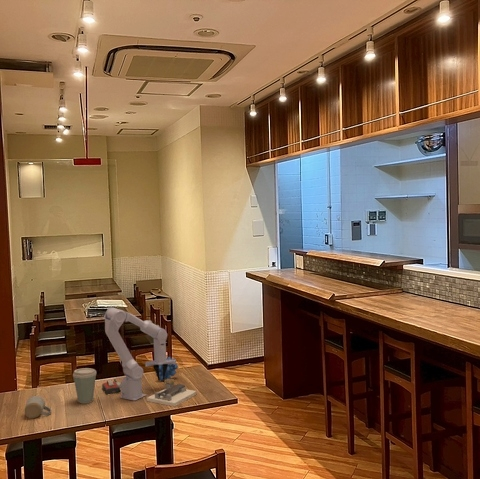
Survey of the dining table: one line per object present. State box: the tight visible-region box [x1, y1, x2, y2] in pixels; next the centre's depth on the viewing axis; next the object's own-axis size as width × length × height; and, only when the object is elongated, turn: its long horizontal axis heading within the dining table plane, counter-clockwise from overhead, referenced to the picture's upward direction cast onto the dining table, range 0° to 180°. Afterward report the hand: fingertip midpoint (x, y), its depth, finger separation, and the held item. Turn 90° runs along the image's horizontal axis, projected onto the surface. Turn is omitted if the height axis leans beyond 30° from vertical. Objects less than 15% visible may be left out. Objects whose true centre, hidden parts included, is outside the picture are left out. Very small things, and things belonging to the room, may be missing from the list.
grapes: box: [155, 356, 179, 381], centre depth 266 cm, size 12×7×12 cm, turn 114°
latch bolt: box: [163, 378, 176, 384], centre depth 248 cm, size 4×3×1 cm
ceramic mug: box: [24, 395, 52, 419], centre depth 224 cm, size 11×8×8 cm
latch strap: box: [159, 383, 186, 397], centre depth 240 cm, size 15×4×1 cm, turn 150°
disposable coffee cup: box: [72, 367, 97, 405], centre depth 239 cm, size 11×11×15 cm
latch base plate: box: [146, 382, 198, 407], centre depth 240 cm, size 16×17×4 cm
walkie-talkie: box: [101, 378, 121, 395], centre depth 256 cm, size 9×4×20 cm
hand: (161, 379), depth 251 cm, fingers closed
